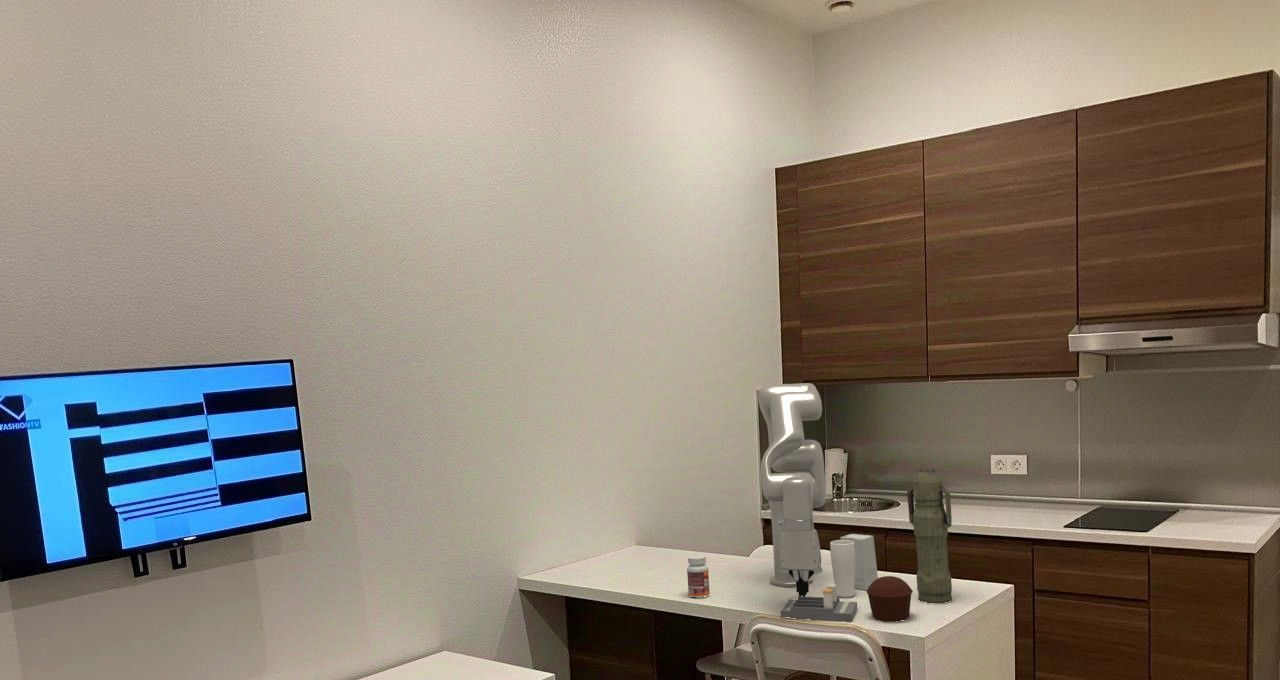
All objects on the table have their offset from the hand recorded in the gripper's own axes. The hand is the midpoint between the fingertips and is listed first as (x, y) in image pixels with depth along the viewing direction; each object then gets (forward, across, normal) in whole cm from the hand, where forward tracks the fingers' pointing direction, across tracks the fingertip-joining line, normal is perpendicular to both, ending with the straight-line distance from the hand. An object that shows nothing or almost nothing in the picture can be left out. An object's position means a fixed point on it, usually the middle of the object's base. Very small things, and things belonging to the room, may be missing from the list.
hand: (802, 595), depth 239 cm
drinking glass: (+6, +8, +22) cm, 24 cm away
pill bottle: (+6, -33, +16) cm, 37 cm away
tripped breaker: (+3, +7, -1) cm, 8 cm away
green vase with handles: (+6, +32, +21) cm, 38 cm away
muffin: (+6, +22, +2) cm, 23 cm away
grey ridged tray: (+5, +4, +2) cm, 7 cm away
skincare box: (+6, +11, +33) cm, 35 cm away
